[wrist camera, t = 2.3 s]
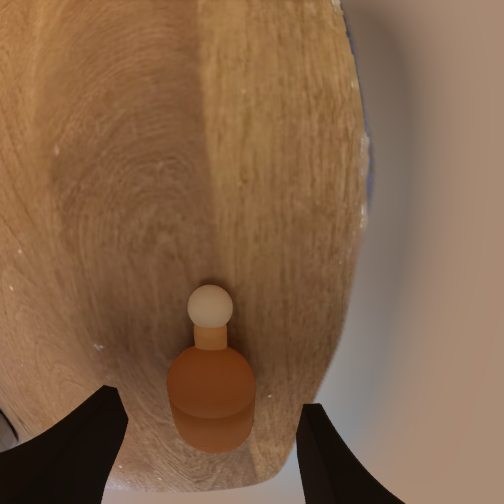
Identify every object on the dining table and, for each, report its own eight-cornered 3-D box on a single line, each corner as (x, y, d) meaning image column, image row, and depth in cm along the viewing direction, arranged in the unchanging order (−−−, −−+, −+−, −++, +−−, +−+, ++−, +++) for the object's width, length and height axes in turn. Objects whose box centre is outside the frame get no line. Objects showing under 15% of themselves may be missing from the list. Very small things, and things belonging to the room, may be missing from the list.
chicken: (251, 413, 13) (253, 467, 9) (185, 409, 13) (174, 462, 9) (258, 278, 10) (263, 330, 7) (167, 276, 10) (137, 323, 7)
